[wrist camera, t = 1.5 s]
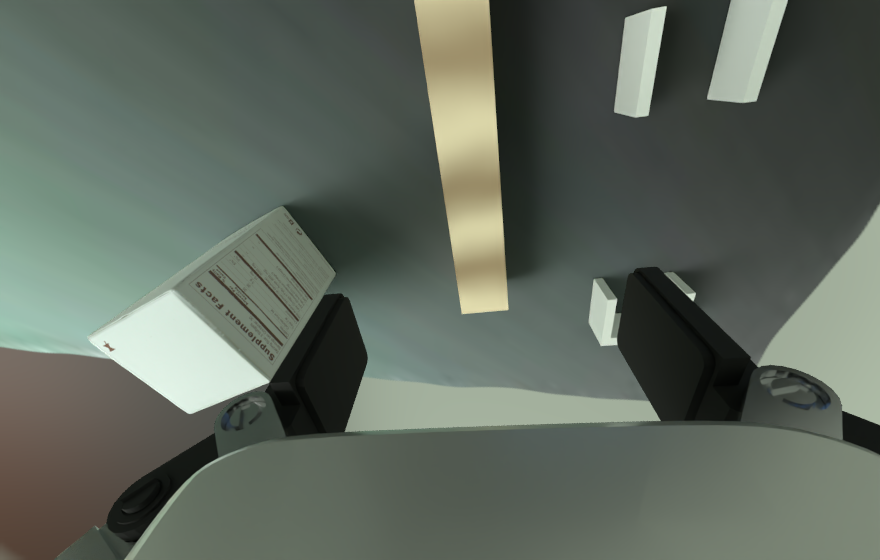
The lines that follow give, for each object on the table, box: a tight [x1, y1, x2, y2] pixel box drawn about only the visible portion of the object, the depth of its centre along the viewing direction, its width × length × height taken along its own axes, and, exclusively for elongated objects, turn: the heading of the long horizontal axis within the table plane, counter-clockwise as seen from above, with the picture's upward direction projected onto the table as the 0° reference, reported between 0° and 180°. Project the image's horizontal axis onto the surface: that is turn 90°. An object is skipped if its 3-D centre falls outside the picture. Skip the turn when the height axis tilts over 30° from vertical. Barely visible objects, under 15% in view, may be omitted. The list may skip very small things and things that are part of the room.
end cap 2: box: [614, 0, 788, 117], centre depth 19 cm, size 5×6×3 cm
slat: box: [414, 0, 508, 314], centre depth 23 cm, size 20×4×4 cm, turn 9°
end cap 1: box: [589, 272, 696, 346], centre depth 28 cm, size 5×6×3 cm
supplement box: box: [87, 206, 336, 414], centre depth 24 cm, size 7×7×13 cm
